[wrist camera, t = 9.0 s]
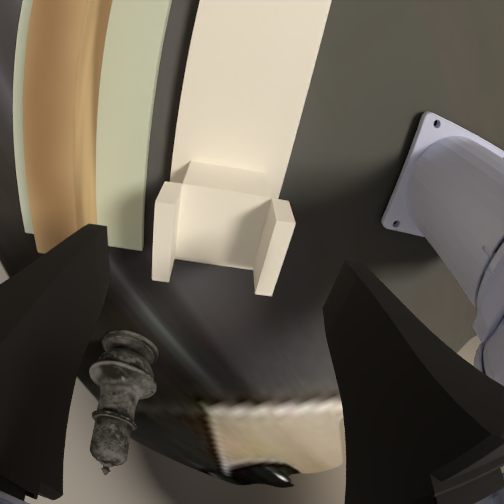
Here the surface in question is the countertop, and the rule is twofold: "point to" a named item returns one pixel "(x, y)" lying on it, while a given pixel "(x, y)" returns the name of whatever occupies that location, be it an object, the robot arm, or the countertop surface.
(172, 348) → the countertop surface
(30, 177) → the oak bar
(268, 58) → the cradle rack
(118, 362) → the grey chess piece
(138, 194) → the sage mat
